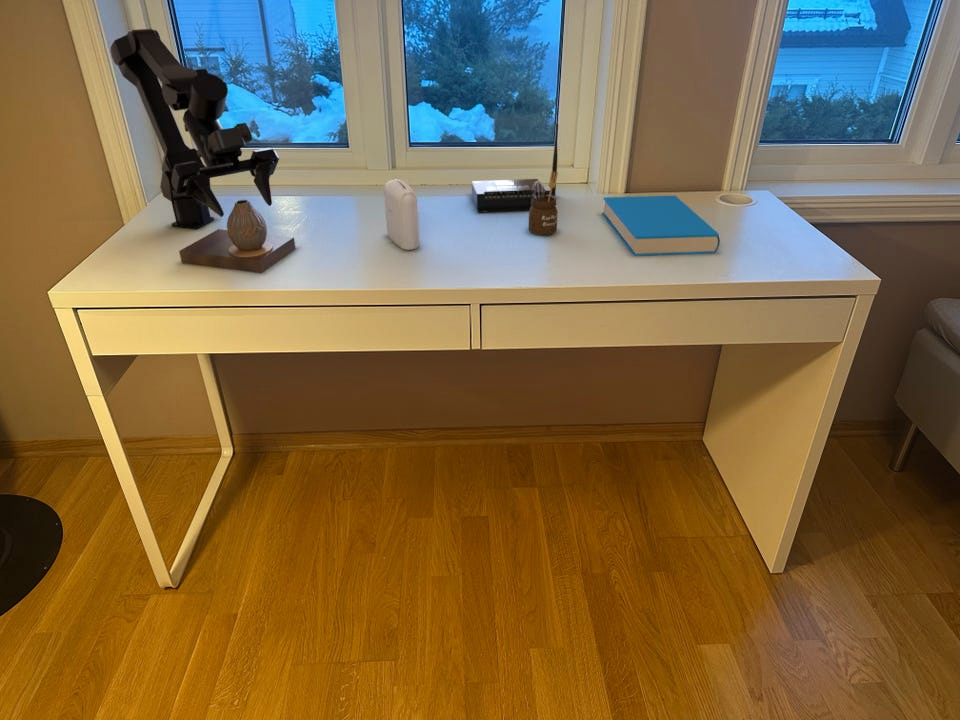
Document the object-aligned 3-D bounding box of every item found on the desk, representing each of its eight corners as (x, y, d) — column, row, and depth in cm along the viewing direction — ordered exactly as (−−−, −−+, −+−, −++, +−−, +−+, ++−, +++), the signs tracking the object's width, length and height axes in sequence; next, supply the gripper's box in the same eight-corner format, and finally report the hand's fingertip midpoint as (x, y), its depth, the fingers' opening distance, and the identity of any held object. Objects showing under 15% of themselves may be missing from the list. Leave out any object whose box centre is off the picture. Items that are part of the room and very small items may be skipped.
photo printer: (384, 235, 140) (380, 176, 134) (404, 232, 142) (400, 173, 136) (401, 252, 132) (397, 189, 126) (422, 248, 134) (419, 187, 128)
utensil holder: (522, 231, 142) (524, 174, 136) (541, 224, 146) (543, 168, 140) (544, 238, 139) (547, 180, 133) (562, 230, 143) (566, 174, 137)
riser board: (181, 263, 127) (178, 249, 126) (221, 240, 138) (218, 227, 136) (261, 273, 123) (258, 259, 122) (295, 249, 134) (293, 235, 132)
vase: (245, 257, 123) (236, 210, 118) (223, 248, 126) (214, 202, 122) (277, 246, 127) (269, 200, 123) (254, 238, 131) (247, 193, 127)
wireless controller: (478, 213, 153) (477, 135, 144) (470, 194, 165) (470, 121, 156) (564, 209, 155) (569, 132, 146) (551, 191, 167) (555, 119, 158)
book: (636, 236, 129) (602, 195, 150) (633, 258, 131) (600, 214, 152) (723, 233, 130) (677, 193, 151) (718, 254, 132) (674, 212, 153)
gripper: (161, 115, 111) (202, 196, 110) (266, 102, 122) (304, 175, 121) (155, 155, 121) (193, 230, 119) (253, 139, 131) (289, 208, 130)
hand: (247, 209), depth 122 cm, fingers open, 9 cm apart
